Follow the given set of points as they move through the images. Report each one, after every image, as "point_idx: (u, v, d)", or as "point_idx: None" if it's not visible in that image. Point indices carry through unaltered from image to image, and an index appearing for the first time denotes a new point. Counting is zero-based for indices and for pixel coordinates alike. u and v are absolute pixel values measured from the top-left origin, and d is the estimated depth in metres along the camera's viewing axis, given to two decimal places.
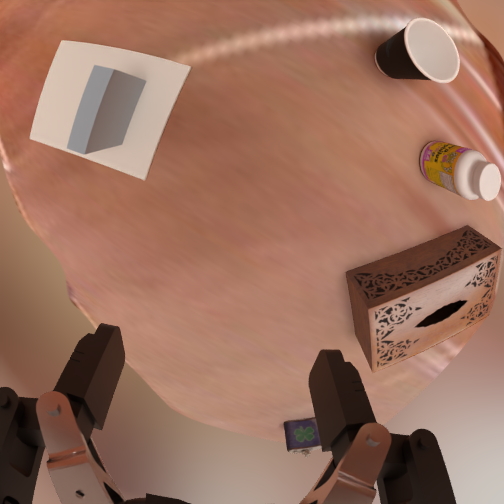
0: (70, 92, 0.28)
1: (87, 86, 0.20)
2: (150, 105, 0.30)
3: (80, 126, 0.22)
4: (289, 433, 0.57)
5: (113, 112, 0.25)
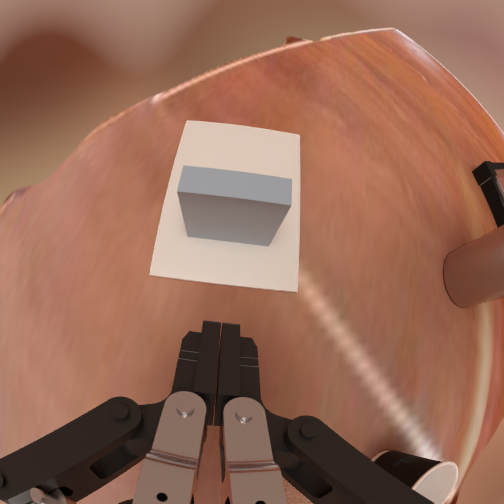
0: (241, 159, 0.34)
1: (264, 176, 0.22)
2: (240, 259, 0.30)
3: (212, 178, 0.22)
4: None
5: (231, 218, 0.25)
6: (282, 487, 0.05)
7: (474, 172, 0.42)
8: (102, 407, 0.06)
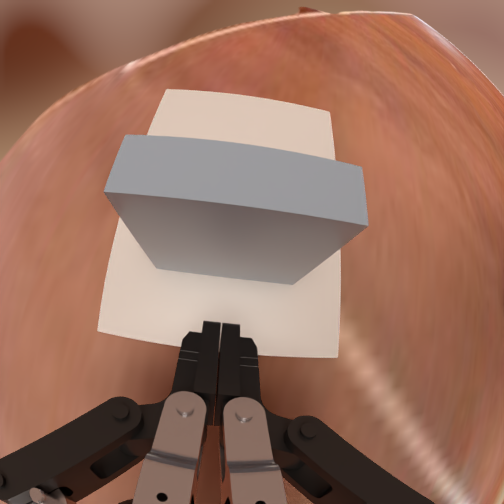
0: (246, 142, 0.22)
1: (305, 158, 0.10)
2: (246, 309, 0.18)
3: (186, 160, 0.09)
4: None
5: (229, 245, 0.12)
6: (282, 487, 0.05)
7: None
8: (102, 407, 0.06)
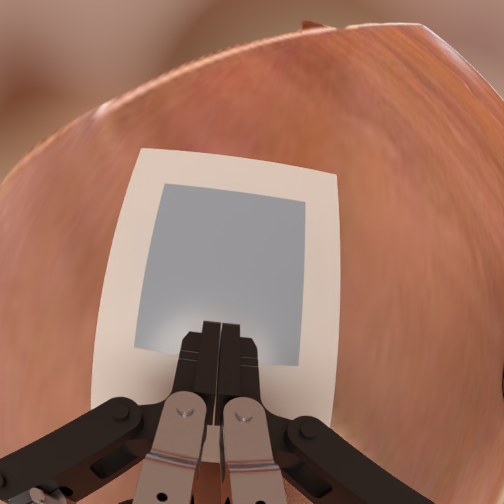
0: None
1: None
2: None
3: None
4: None
5: (227, 249, 0.16)
6: (282, 487, 0.05)
7: None
8: (102, 407, 0.06)
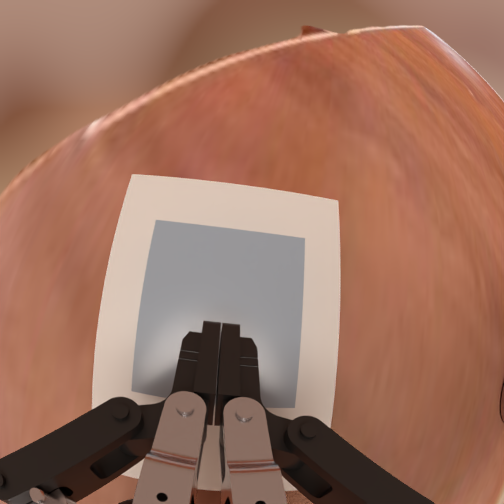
0: None
1: None
2: None
3: None
4: None
5: (222, 293, 0.15)
6: (282, 487, 0.05)
7: None
8: (102, 407, 0.06)
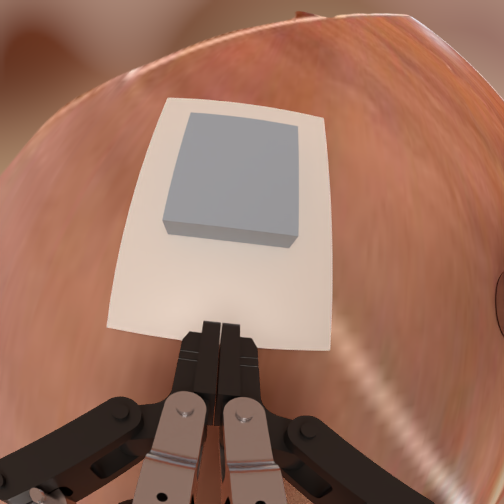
0: None
1: None
2: (244, 305, 0.19)
3: None
4: None
5: (239, 152, 0.20)
6: (282, 487, 0.05)
7: None
8: (102, 407, 0.06)
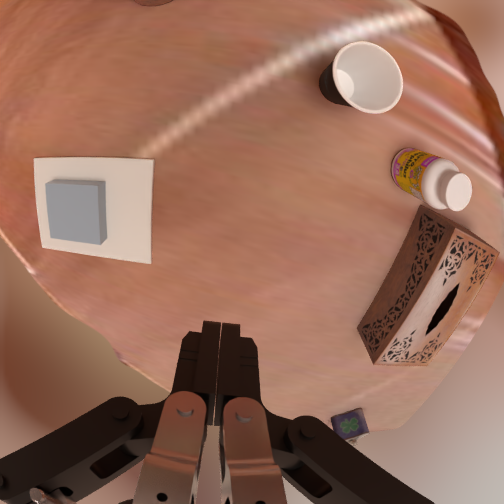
0: None
1: None
2: (132, 203, 0.37)
3: None
4: (336, 427, 0.62)
5: (65, 213, 0.35)
6: (282, 487, 0.05)
7: None
8: (102, 407, 0.06)
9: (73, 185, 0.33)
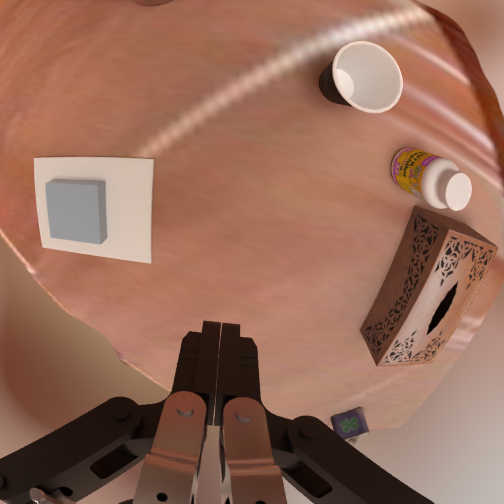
0: None
1: None
2: (132, 202, 0.37)
3: None
4: (336, 426, 0.62)
5: (65, 212, 0.35)
6: (282, 487, 0.05)
7: None
8: (102, 407, 0.06)
9: (73, 185, 0.33)
